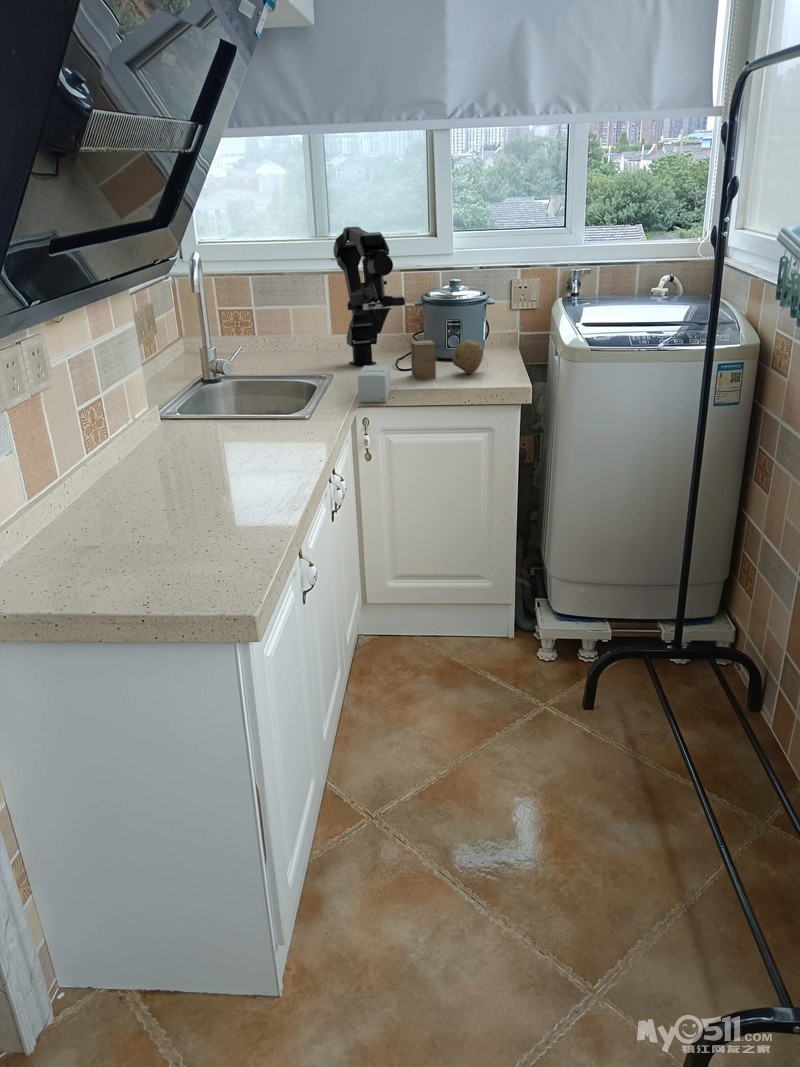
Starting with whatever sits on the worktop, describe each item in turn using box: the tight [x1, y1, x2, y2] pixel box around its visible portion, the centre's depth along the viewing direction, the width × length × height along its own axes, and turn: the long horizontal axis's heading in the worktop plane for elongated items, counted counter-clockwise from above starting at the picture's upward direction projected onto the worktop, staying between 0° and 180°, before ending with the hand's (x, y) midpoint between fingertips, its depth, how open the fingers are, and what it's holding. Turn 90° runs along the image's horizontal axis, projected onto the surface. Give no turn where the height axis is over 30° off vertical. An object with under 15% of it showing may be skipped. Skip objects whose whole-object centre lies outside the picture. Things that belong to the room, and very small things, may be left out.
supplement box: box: [357, 365, 391, 403], centre depth 225 cm, size 7×7×13 cm
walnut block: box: [410, 339, 437, 381], centre depth 246 cm, size 6×6×10 cm
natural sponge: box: [452, 339, 484, 375], centre depth 248 cm, size 9×9×10 cm
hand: (378, 333), depth 245 cm, fingers closed
